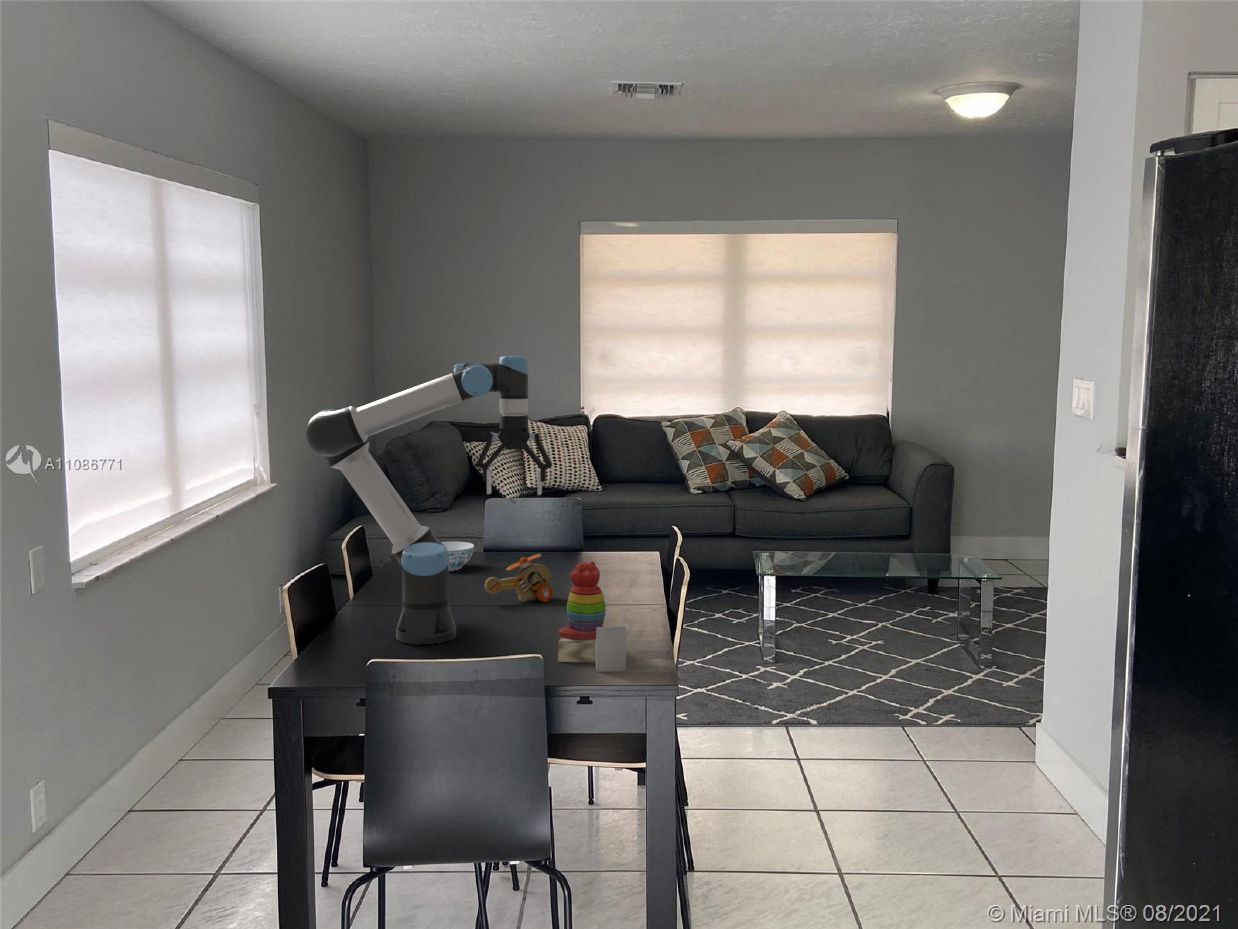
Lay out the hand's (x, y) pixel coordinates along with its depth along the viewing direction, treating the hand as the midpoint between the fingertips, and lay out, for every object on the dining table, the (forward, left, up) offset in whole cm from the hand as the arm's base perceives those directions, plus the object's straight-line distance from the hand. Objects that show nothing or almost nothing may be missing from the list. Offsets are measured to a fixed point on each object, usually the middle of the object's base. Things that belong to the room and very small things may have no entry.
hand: (514, 494), depth 290 cm
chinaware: (-31, +63, -35) cm, 78 cm away
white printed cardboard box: (+29, -40, -35) cm, 61 cm away
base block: (+22, -30, -35) cm, 51 cm away
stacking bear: (+22, -30, -30) cm, 48 cm away
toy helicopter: (-1, +21, -35) cm, 41 cm away
